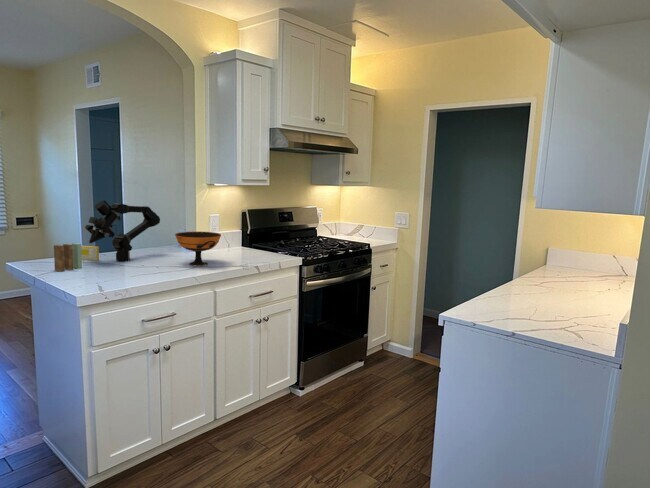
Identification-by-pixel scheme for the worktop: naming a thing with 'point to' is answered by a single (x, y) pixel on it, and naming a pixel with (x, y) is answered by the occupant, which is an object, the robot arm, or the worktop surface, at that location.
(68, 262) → the walnut domino middle
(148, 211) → the robot arm
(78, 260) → the green domino
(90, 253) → the candy box
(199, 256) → the cup
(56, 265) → the walnut domino end
